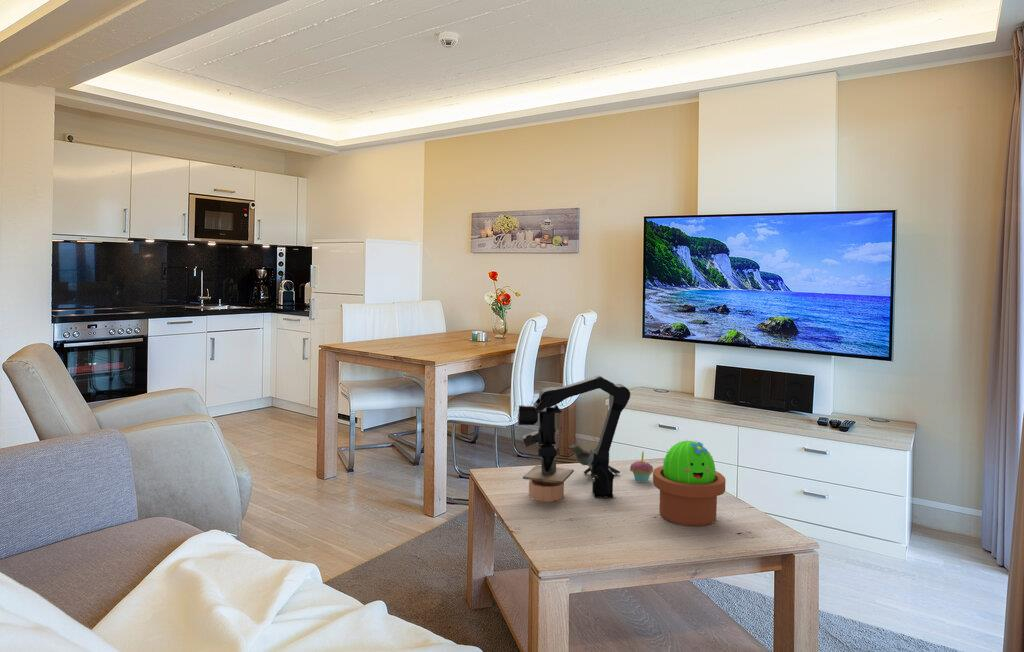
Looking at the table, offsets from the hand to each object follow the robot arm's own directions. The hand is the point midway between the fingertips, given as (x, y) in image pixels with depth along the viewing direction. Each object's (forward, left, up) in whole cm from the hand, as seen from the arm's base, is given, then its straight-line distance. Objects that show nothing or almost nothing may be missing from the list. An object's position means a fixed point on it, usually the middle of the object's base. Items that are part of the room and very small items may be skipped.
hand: (546, 469), depth 218 cm
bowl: (0, 0, -9) cm, 9 cm away
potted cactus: (-45, +16, -10) cm, 49 cm away
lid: (-1, 0, -2) cm, 2 cm away
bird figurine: (-18, -24, -10) cm, 31 cm away
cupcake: (-36, -19, -10) cm, 42 cm away
